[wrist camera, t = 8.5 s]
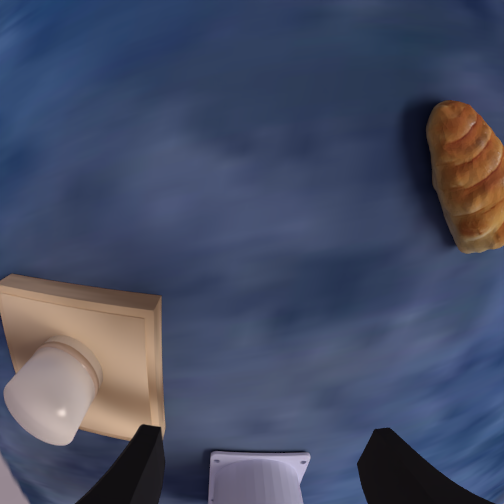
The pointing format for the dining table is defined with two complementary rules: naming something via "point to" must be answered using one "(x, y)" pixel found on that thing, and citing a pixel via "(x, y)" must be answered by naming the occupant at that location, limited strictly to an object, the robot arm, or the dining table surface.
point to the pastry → (467, 175)
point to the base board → (94, 344)
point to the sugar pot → (55, 389)
